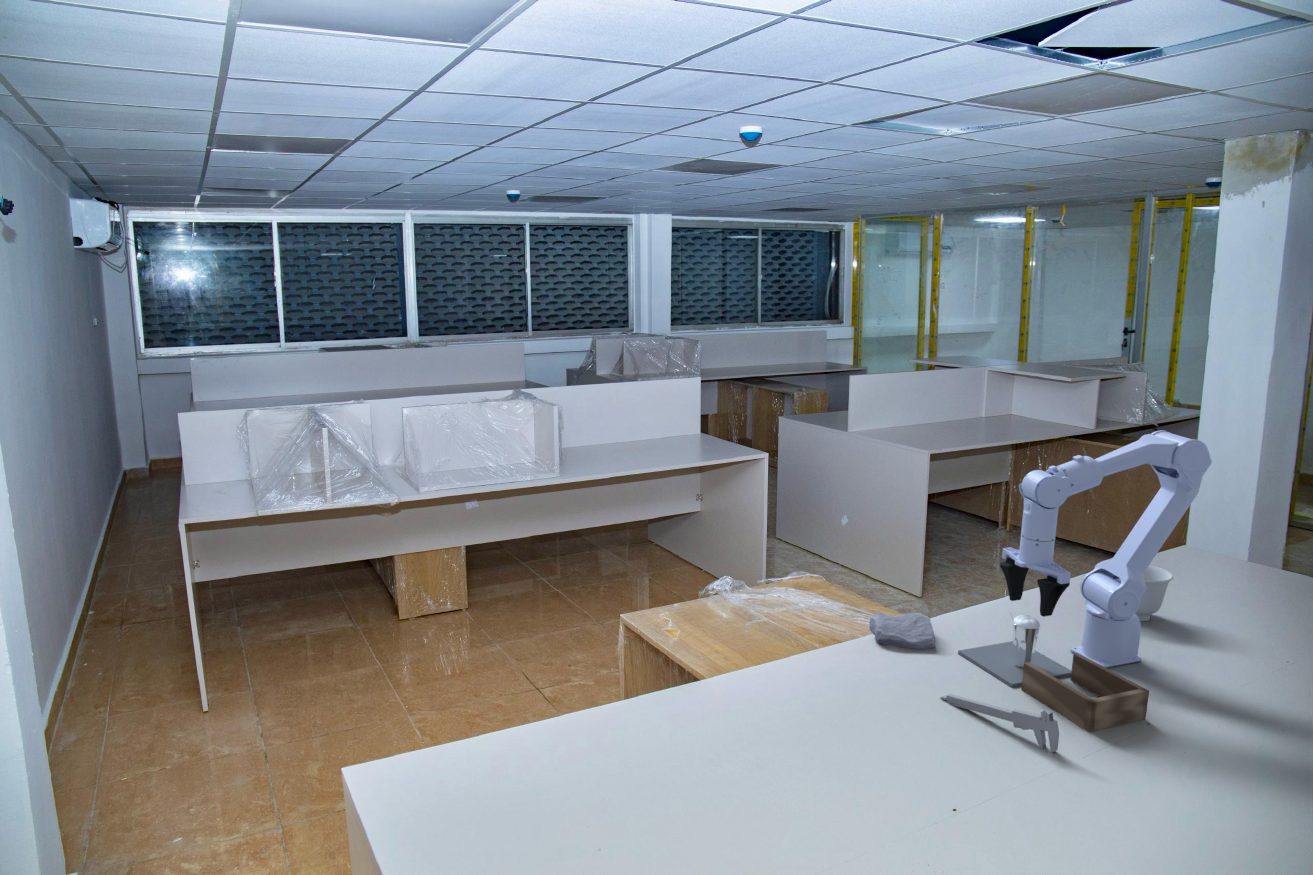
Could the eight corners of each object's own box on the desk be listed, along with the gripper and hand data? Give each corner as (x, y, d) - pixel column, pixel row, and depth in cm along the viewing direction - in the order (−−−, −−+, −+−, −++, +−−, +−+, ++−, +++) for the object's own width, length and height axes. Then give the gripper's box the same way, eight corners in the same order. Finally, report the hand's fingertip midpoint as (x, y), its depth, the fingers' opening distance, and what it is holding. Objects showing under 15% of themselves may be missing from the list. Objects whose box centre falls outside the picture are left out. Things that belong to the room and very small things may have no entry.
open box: (1074, 679, 152) (1077, 652, 151) (1145, 719, 139) (1149, 690, 138) (1021, 689, 148) (1024, 662, 147) (1088, 731, 135) (1092, 702, 134)
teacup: (1101, 596, 191) (1106, 554, 189) (1175, 616, 180) (1181, 571, 178) (1079, 610, 183) (1084, 566, 181) (1155, 632, 172) (1161, 585, 170)
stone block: (938, 659, 164) (927, 628, 173) (940, 638, 162) (929, 608, 171) (875, 658, 165) (867, 627, 174) (876, 637, 163) (869, 607, 173)
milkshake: (1000, 659, 159) (1004, 608, 157) (1028, 658, 159) (1033, 607, 157) (1011, 670, 154) (1016, 617, 152) (1040, 669, 154) (1045, 617, 153)
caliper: (1057, 753, 130) (1061, 715, 128) (1053, 755, 129) (1057, 717, 128) (943, 698, 146) (946, 664, 145) (939, 700, 145) (942, 665, 144)
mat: (1016, 643, 167) (1017, 640, 167) (1073, 675, 154) (1074, 672, 154) (958, 653, 162) (958, 650, 162) (1011, 687, 149) (1011, 684, 149)
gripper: (991, 527, 161) (985, 595, 163) (1051, 551, 147) (1043, 625, 150) (1021, 524, 163) (1014, 591, 166) (1082, 547, 150) (1074, 620, 152)
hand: (1030, 607), depth 158 cm, fingers open, 7 cm apart
